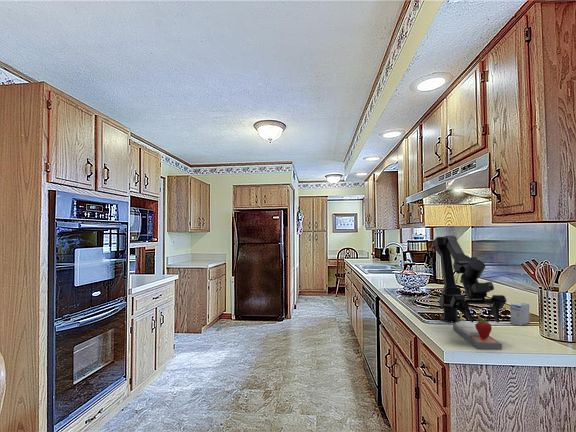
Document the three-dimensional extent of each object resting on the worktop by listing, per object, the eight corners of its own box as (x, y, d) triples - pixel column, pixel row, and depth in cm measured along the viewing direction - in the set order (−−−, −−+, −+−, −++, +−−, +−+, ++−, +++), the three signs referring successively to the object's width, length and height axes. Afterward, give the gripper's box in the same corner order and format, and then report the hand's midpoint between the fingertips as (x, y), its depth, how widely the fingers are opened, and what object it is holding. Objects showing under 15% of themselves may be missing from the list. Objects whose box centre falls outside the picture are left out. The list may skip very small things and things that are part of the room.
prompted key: (471, 341, 134) (471, 336, 134) (488, 342, 134) (488, 336, 134) (479, 347, 128) (478, 342, 128) (497, 348, 127) (497, 342, 127)
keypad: (453, 329, 150) (452, 322, 150) (473, 330, 149) (473, 322, 149) (477, 349, 127) (476, 340, 127) (501, 349, 126) (501, 340, 126)
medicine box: (518, 320, 162) (518, 301, 162) (529, 323, 158) (529, 303, 158) (510, 323, 157) (509, 304, 158) (521, 326, 154) (520, 306, 154)
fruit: (481, 336, 135) (480, 314, 135) (495, 339, 130) (494, 318, 130) (472, 338, 132) (472, 316, 132) (487, 342, 127) (486, 320, 128)
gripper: (452, 273, 136) (465, 310, 125) (503, 273, 134) (520, 310, 123) (445, 290, 144) (456, 325, 132) (493, 290, 142) (509, 326, 131)
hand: (485, 321), depth 130 cm, fingers open, 9 cm apart
